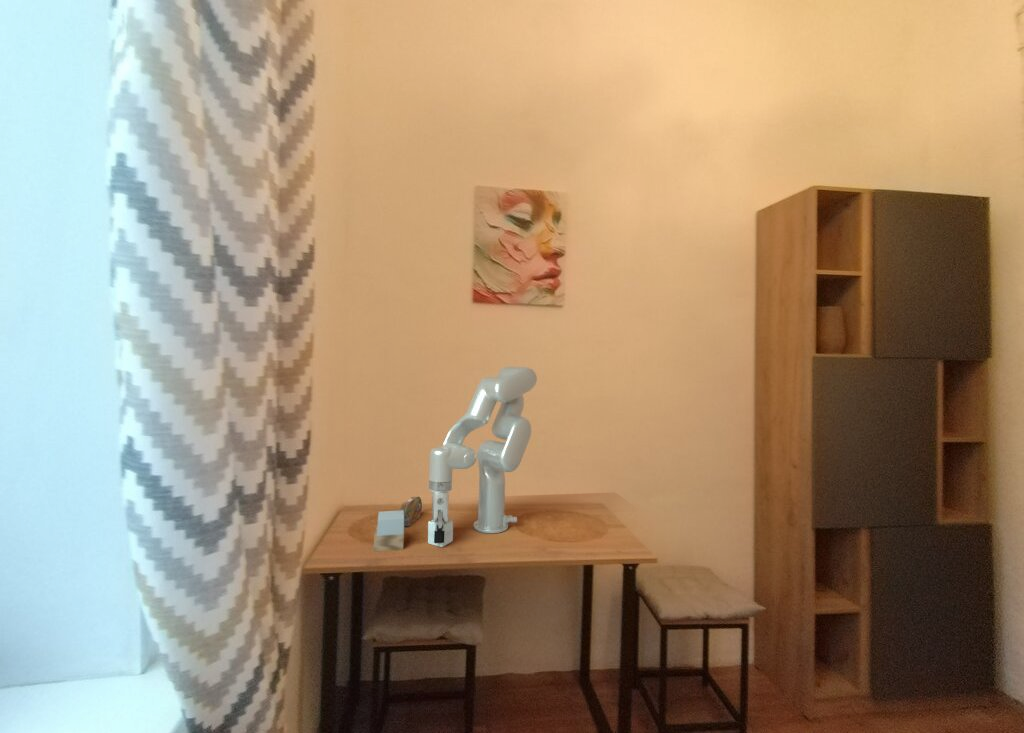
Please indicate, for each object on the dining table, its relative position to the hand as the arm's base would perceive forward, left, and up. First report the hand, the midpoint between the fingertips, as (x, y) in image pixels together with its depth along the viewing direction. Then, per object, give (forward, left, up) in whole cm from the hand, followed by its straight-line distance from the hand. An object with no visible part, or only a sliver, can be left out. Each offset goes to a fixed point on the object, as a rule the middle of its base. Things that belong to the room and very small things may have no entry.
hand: (438, 537), depth 148 cm
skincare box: (-1, 0, -2) cm, 2 cm away
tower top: (+15, 0, +3) cm, 16 cm away
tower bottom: (+16, 0, -2) cm, 16 cm away
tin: (+10, -20, -2) cm, 23 cm away
